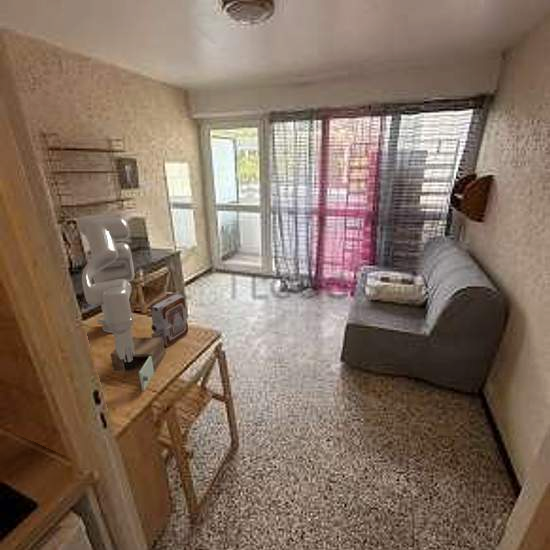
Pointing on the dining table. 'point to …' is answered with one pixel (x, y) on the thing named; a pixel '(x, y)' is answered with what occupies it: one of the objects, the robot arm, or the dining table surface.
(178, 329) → the cine camera
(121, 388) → the dining table surface
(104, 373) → the dining table surface
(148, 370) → the case door
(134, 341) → the camera case
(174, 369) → the dining table surface
